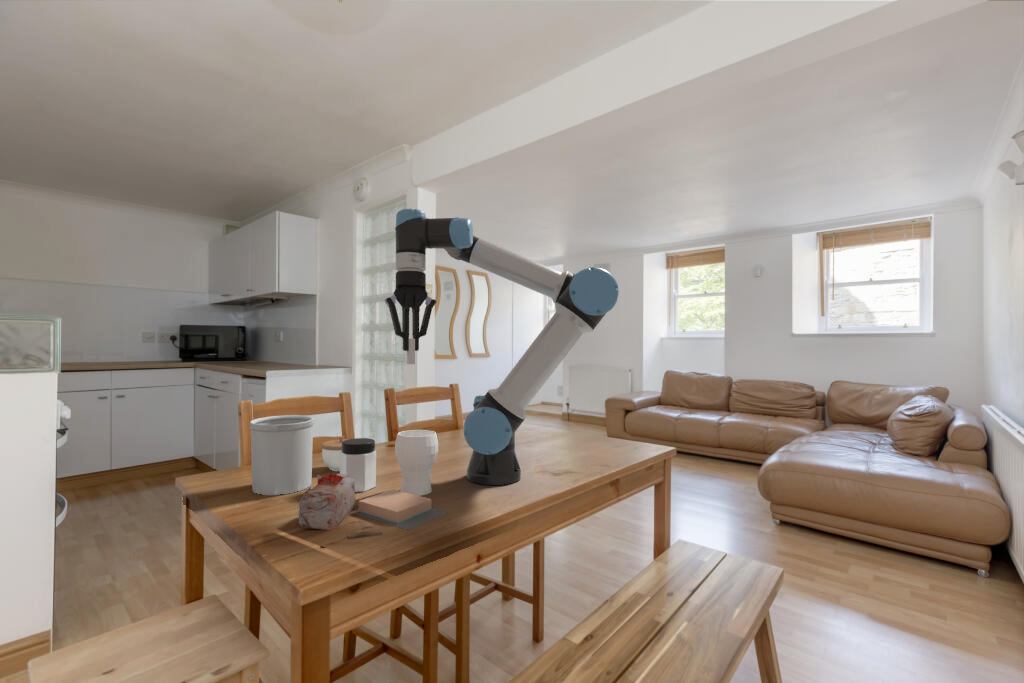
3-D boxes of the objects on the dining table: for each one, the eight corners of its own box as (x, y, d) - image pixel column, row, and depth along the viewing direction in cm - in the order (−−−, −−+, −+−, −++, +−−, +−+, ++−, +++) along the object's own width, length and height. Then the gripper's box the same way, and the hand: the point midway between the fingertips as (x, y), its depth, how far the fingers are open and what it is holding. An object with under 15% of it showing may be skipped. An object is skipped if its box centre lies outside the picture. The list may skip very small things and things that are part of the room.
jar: (380, 488, 120) (380, 442, 120) (348, 495, 115) (349, 446, 115) (366, 480, 127) (367, 436, 127) (336, 486, 122) (336, 440, 122)
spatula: (380, 532, 93) (380, 527, 93) (382, 539, 89) (382, 533, 89) (320, 541, 88) (320, 536, 88) (320, 549, 85) (320, 543, 85)
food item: (336, 535, 91) (337, 484, 91) (294, 534, 91) (295, 484, 91) (357, 510, 105) (358, 466, 105) (321, 510, 105) (322, 465, 105)
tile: (431, 498, 104) (393, 489, 110) (397, 512, 95) (358, 500, 102) (431, 509, 104) (393, 499, 110) (397, 523, 95) (358, 512, 102)
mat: (448, 514, 102) (448, 512, 102) (407, 532, 92) (408, 529, 92) (396, 500, 111) (396, 498, 111) (354, 516, 101) (354, 513, 101)
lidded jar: (316, 473, 133) (316, 440, 134) (327, 464, 144) (328, 433, 144) (354, 473, 134) (355, 440, 134) (363, 464, 145) (363, 433, 145)
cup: (413, 503, 110) (414, 439, 110) (385, 494, 116) (386, 433, 116) (446, 492, 118) (447, 432, 118) (418, 484, 124) (418, 427, 125)
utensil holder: (284, 499, 111) (285, 425, 112) (234, 493, 115) (235, 422, 116) (325, 482, 126) (326, 416, 126) (279, 477, 130) (280, 413, 130)
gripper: (387, 267, 114) (387, 365, 114) (439, 271, 119) (439, 364, 119) (382, 272, 121) (382, 363, 120) (431, 275, 126) (431, 363, 126)
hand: (410, 363), depth 120 cm, fingers closed
